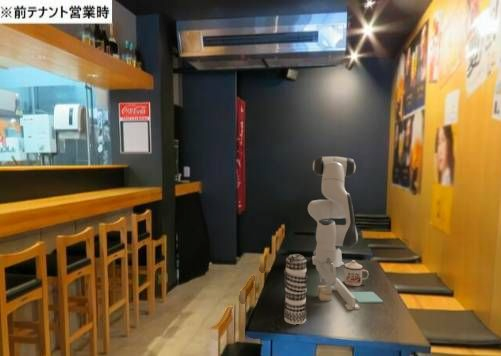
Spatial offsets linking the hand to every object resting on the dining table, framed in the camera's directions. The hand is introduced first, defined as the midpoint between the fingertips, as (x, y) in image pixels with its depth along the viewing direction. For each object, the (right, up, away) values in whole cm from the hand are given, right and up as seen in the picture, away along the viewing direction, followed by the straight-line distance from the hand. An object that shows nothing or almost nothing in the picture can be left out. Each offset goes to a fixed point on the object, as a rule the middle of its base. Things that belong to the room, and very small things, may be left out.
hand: (325, 286), depth 150 cm
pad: (+19, -6, +2) cm, 20 cm away
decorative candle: (-16, -7, -20) cm, 27 cm away
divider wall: (+9, -6, +1) cm, 11 cm away
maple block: (0, -6, +1) cm, 6 cm away
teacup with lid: (+20, -5, +20) cm, 29 cm away
